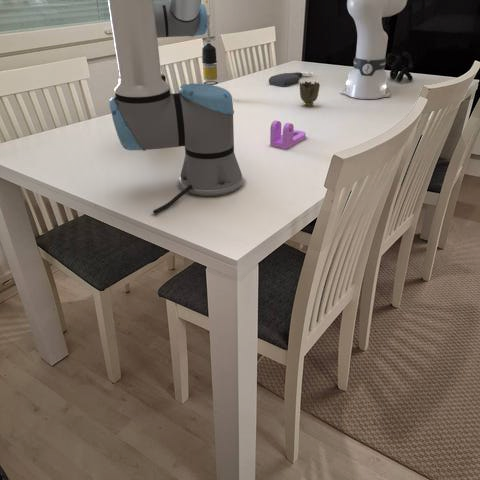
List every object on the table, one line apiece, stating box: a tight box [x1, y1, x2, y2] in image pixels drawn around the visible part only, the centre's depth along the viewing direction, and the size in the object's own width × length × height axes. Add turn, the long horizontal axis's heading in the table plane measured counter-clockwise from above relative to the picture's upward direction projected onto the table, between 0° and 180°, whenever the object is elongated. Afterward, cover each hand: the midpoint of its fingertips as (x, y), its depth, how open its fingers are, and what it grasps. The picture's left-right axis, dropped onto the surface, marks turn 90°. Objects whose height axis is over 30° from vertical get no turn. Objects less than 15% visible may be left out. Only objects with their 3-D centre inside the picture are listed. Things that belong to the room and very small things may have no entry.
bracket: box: [269, 119, 306, 150], centre depth 133 cm, size 13×6×7 cm, turn 143°
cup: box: [299, 81, 321, 107], centre depth 165 cm, size 8×7×8 cm
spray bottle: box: [268, 70, 315, 87], centre depth 203 cm, size 3×11×24 cm
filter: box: [201, 14, 219, 86], centre depth 171 cm, size 6×6×30 cm
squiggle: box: [385, 51, 414, 83], centre depth 198 cm, size 11×10×15 cm
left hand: (149, 133), depth 139 cm, fingers open, 8 cm apart
